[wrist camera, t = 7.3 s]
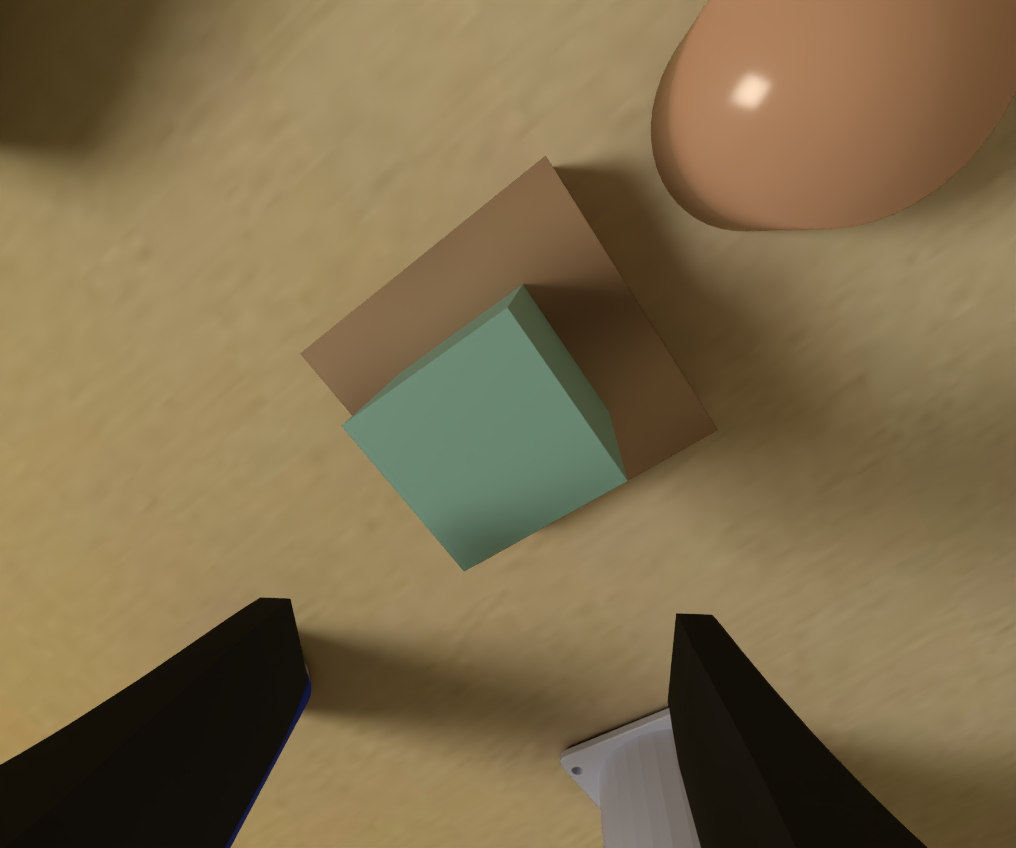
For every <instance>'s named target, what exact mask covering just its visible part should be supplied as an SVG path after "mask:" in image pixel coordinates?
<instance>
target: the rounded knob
mask: <svg viewBox="0 0 1016 848" xmlns="http://www.w3.org/2000/svg"><path fill="white" fill-rule="evenodd" d="M1015 92H1016V0H708V2H707V3H706V5H705V6H704V8H703V9H702V11H701V12H700V14H699V16H698V17H697V19H696V20H695V22H694V23H693V25H692V26H691V28H690V29H689V31H688V32H687V34H686V35H685V37H684V38H683V40H682V41H681V43H680V44H679V46H678V47H677V49H676V50H675V52H674V54H673V55H672V57H671V59H670V60H669V62H668V64H667V66H666V68H665V71H664V73H663V75H662V77H661V80H660V83H659V86H658V89H657V92H656V96H655V100H654V105H653V110H652V120H651V142H652V149H653V156H654V159H655V163H656V167H657V170H658V172H659V175H660V177H661V179H662V182H663V183H664V185H665V187H666V189H667V190H668V192H669V193H670V195H671V196H672V197H673V198H674V200H675V201H676V202H677V203H678V204H679V205H680V206H681V207H682V208H683V209H684V210H685V211H686V212H687V213H689V214H690V215H692V216H693V217H695V218H696V219H698V220H700V221H702V222H704V223H706V224H708V225H711V226H714V227H717V228H720V229H725V230H731V231H770V230H802V229H833V228H842V227H851V226H856V225H861V224H865V223H869V222H873V221H876V220H879V219H881V218H884V217H887V216H890V215H892V214H895V213H897V212H899V211H901V210H903V209H905V208H907V207H909V206H911V205H913V204H914V203H916V202H918V201H919V200H921V199H922V198H924V197H925V196H927V195H929V194H930V193H932V192H933V191H935V190H936V189H937V188H938V187H940V186H941V185H942V184H943V183H945V182H946V181H947V180H948V179H950V178H951V177H952V176H953V175H954V174H955V173H956V172H957V171H958V170H959V169H961V168H962V167H963V166H964V165H965V164H966V163H967V162H968V161H969V160H970V159H971V158H972V156H973V155H974V154H975V153H976V152H977V151H978V149H979V148H980V147H981V146H982V145H983V143H984V142H985V141H986V140H987V138H988V137H989V136H990V134H991V133H992V131H993V130H994V128H995V127H996V126H997V124H998V123H999V121H1000V120H1001V118H1002V116H1003V115H1004V113H1005V111H1006V109H1007V108H1008V106H1009V104H1010V102H1011V100H1012V99H1013V97H1014V95H1015Z"/></svg>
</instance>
